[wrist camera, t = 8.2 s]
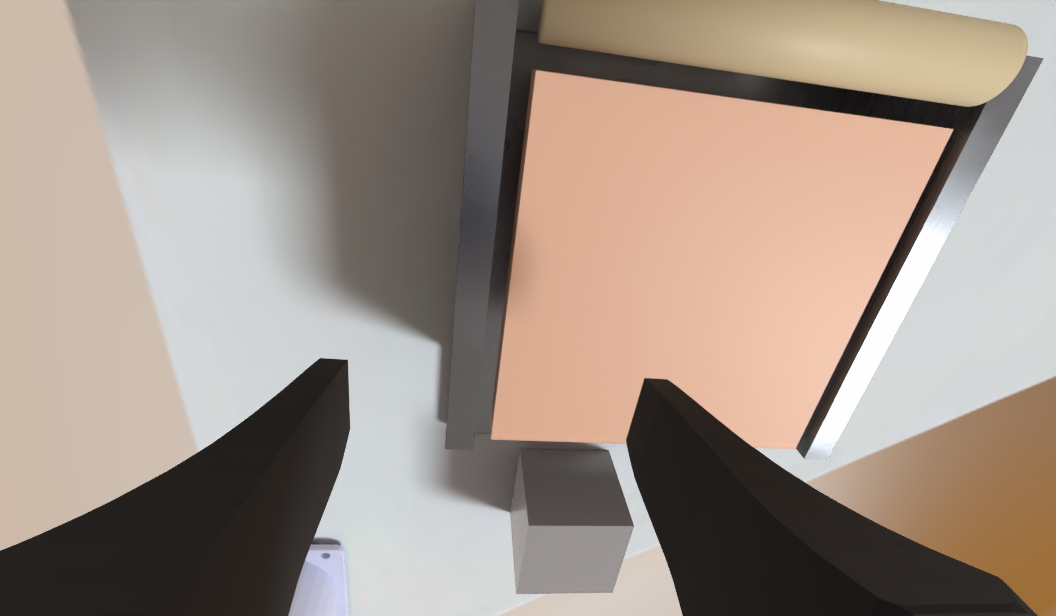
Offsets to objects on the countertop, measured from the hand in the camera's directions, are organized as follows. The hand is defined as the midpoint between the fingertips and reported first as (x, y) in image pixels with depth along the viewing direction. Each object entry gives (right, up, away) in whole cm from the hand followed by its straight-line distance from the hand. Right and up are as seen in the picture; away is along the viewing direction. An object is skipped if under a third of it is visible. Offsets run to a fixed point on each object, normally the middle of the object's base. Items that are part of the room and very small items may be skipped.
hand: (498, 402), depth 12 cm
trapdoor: (+6, +4, +4) cm, 8 cm away
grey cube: (+2, -8, +16) cm, 18 cm away
